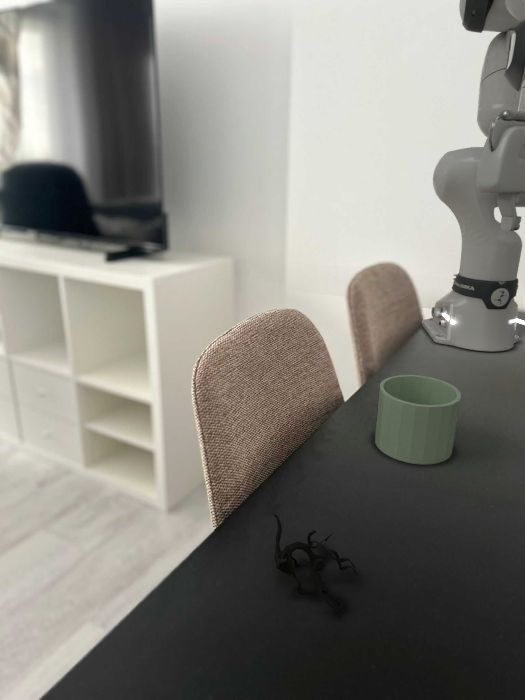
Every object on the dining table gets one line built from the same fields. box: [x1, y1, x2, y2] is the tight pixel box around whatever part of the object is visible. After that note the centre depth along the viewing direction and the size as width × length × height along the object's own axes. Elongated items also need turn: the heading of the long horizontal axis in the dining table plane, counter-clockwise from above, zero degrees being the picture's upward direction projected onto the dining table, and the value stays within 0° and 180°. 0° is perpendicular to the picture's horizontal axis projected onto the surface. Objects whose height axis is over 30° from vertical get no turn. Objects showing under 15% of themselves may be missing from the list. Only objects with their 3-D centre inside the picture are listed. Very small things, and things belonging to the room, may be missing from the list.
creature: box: [273, 514, 359, 611], centre depth 45 cm, size 8×5×8 cm
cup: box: [374, 374, 462, 466], centre depth 67 cm, size 10×10×8 cm
